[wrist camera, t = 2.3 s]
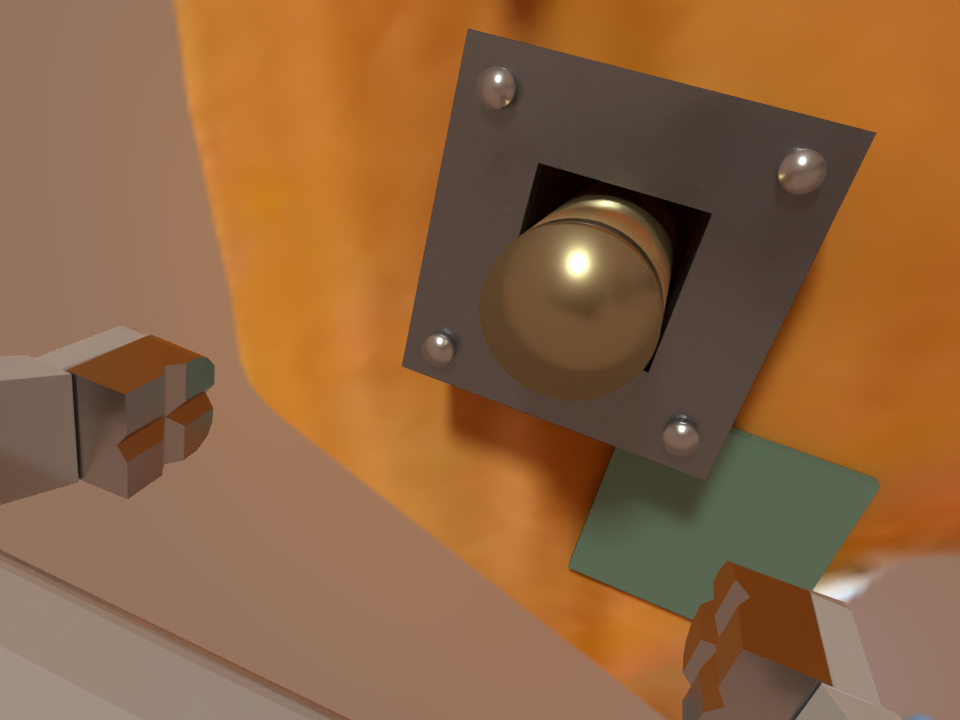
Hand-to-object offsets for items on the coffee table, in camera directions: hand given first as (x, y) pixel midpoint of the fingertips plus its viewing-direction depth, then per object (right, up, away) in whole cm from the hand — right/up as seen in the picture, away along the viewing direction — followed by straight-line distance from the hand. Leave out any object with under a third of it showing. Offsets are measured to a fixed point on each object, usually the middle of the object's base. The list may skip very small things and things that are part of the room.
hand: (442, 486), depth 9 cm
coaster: (+11, -6, +19) cm, 23 cm away
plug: (+6, +7, +16) cm, 18 cm away
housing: (+6, +7, +16) cm, 18 cm away
